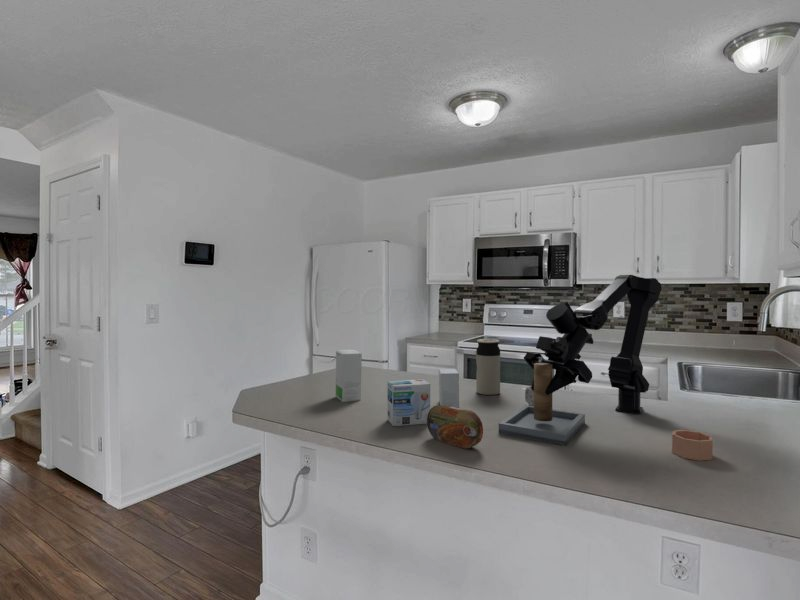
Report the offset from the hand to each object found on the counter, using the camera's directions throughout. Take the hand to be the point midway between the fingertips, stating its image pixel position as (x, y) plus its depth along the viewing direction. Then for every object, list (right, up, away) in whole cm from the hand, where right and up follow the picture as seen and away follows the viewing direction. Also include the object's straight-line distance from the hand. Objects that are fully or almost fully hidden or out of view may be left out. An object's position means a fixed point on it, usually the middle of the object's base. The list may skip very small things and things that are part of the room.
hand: (539, 391), depth 114 cm
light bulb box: (-33, -10, +7) cm, 35 cm away
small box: (-20, -9, +24) cm, 33 cm away
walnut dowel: (+1, -7, +1) cm, 7 cm away
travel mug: (-5, -9, +39) cm, 41 cm away
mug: (+5, -9, +19) cm, 22 cm away
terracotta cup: (+28, -10, -17) cm, 34 cm away
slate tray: (+1, -9, +1) cm, 10 cm away
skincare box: (-52, -9, +33) cm, 62 cm away
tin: (-23, -10, -9) cm, 27 cm away
